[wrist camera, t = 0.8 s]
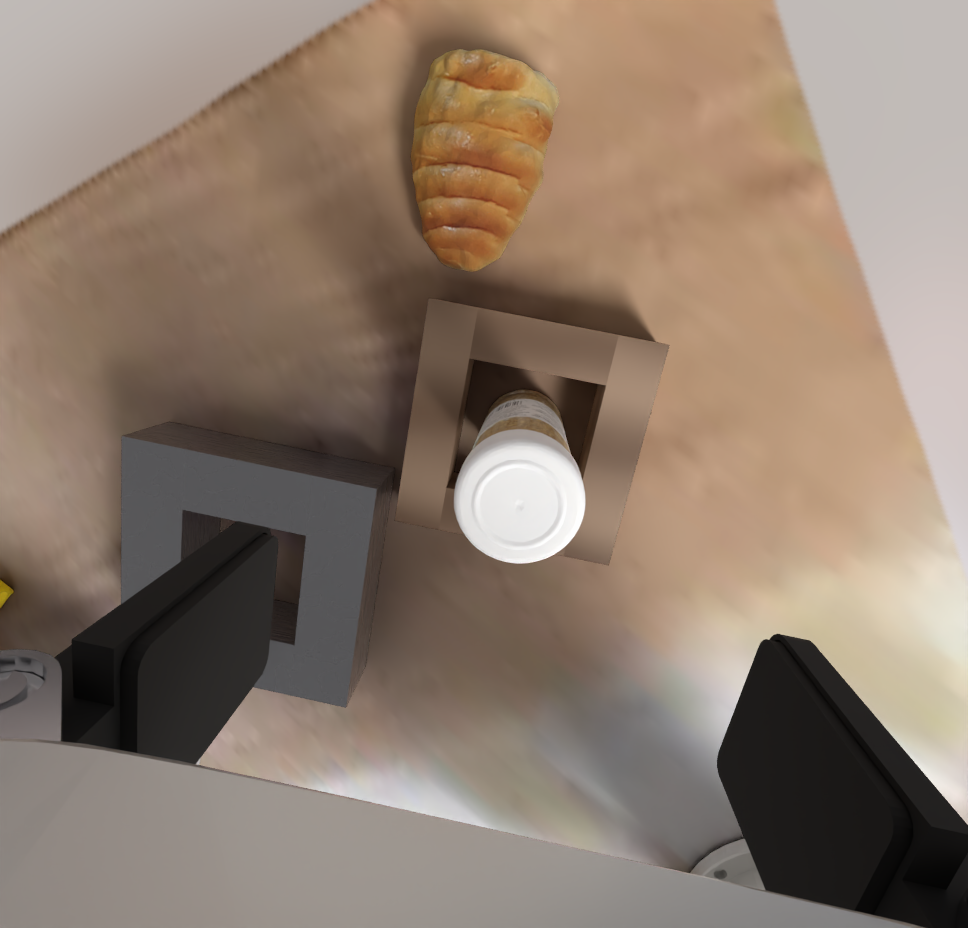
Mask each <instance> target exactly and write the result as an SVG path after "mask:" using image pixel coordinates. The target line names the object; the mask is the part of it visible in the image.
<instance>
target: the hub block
mask: <svg viewBox="0 0 968 928" xmlns="http://www.w3.org/2000/svg"><path fill="white" fill-rule="evenodd" d="M394 472H395V468H391V467H386V466H381V465H376V464H372V463H367V462H362V461H357V460H352V459H347V458H342V457H338V456H333V455H328V454H323V453H318V452H313V451H308V450H304V449H299V448H294V447H289V446H284V445H279V444H274V443H270V442H265V441H260V440H255V439H250V438H245V437H240V436H236V435H231V434H226V433H221V432H216V431H211V430H206V429H202V428H197V427H192V426H187V425H182V424H177V423H173V422H167V423H164V424H160V425H157V426H154V427H150V428H147V429H144V430H140V431H137V432H134V433H130V434H127V435H123V436H122V483H121V604H122V603H124V602H125V601H126V600H128V599H129V598H131V597H132V596H133V595H135V594H136V593H138V592H139V591H140V590H142V589H143V588H145V587H146V586H147V585H149V584H150V583H151V582H153V581H154V580H156V579H157V578H158V577H160V576H161V575H163V574H164V573H165V572H167V571H168V570H170V569H171V568H172V567H174V566H175V565H177V564H178V563H179V562H181V561H182V560H184V559H185V558H186V557H188V556H189V555H191V554H192V553H193V552H195V551H196V550H198V549H199V548H200V547H202V546H203V545H205V544H206V543H207V542H209V541H210V540H212V539H213V538H214V537H216V536H217V535H219V533H220V518H224V519H229V520H234V521H240V522H245V523H250V524H254V525H259V526H264V527H268V528H272V529H276V530H281V531H286V532H291V533H295V534H300V535H305V536H306V541H305V550H304V560H303V569H302V579H301V588H300V598H299V605H297V604H292V603H288V602H283V601H279V600H273V611H272V622H271V634H270V645H269V655H268V660H267V664H266V667H265V669H264V671H263V673H262V675H261V677H260V678H259V679H258V681H257V682H256V683H255V685H254V686H253V687H255V688H260V689H264V690H269V691H273V692H278V693H282V694H287V695H291V696H296V697H300V698H305V699H309V700H314V701H318V702H323V703H328V704H332V705H337V706H341V707H347V705H348V703H349V700H350V698H351V696H352V694H353V692H354V690H355V688H356V686H357V684H358V681H359V679H360V677H361V675H362V673H363V671H364V669H365V667H366V661H367V654H368V647H369V641H370V634H371V627H372V620H373V614H374V607H375V600H376V594H377V587H378V580H379V573H380V567H381V560H382V553H383V546H384V540H385V533H386V526H387V519H388V513H389V506H390V499H391V493H392V486H393V479H394Z"/></svg>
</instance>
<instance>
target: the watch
mask: <svg viewBox="0 0 968 928" xmlns="http://www.w3.org/2000/svg"><path fill="white" fill-rule="evenodd" d="M13 593H14V592H13V589H11V588H10V587H9V586H8V585H6V584H5V583H4V582H3V581H1V580H0V608H1V607H2V605H3V604H4V603H5V602H6V600H7V599H8V598H9V596H10V595H11V594H13Z"/></svg>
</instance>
